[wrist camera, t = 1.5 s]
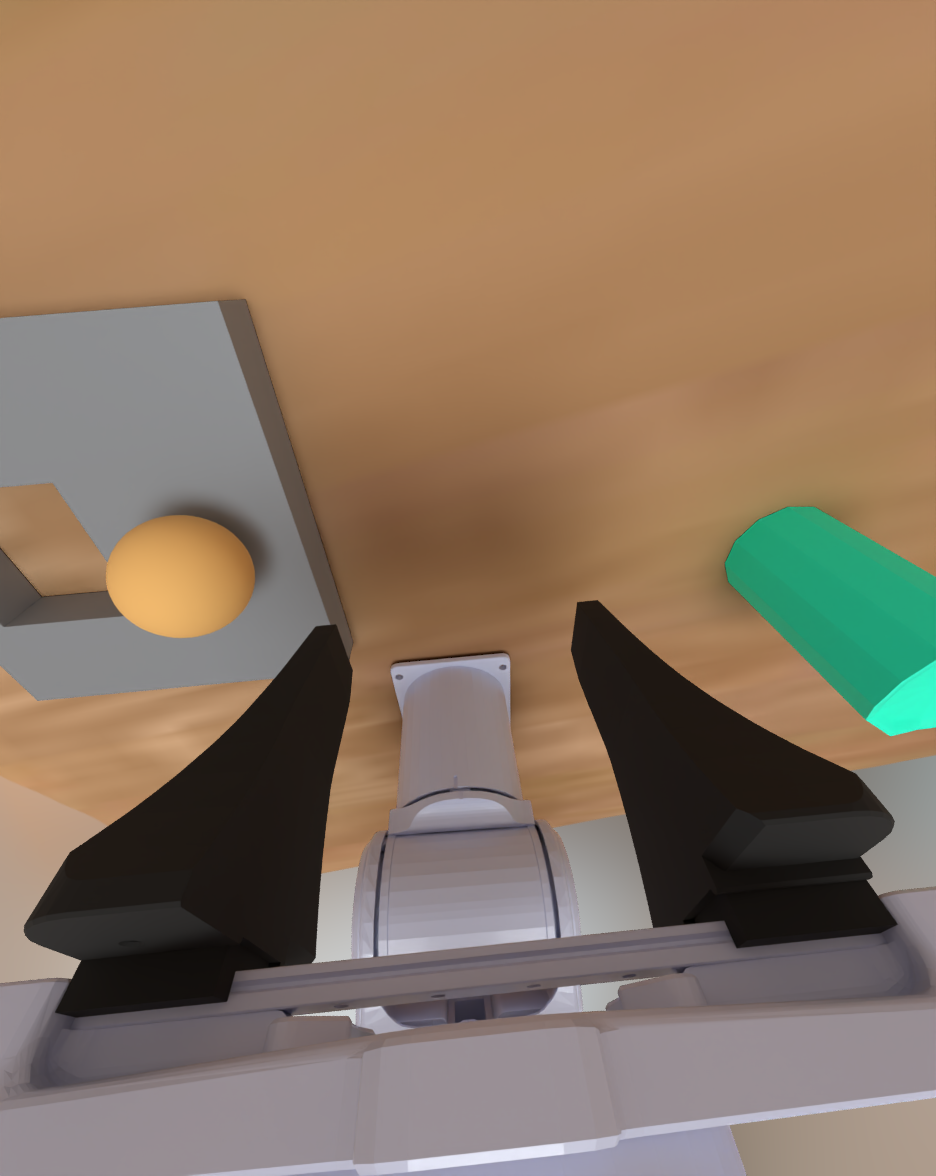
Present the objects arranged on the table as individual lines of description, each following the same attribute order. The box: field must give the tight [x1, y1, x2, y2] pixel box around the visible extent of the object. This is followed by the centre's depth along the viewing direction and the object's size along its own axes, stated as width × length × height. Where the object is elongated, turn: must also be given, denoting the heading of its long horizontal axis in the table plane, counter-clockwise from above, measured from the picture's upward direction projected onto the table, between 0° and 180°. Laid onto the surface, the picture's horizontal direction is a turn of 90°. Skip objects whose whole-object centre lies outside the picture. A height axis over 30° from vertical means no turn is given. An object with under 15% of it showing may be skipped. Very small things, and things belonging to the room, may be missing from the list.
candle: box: [725, 507, 936, 736], centre depth 20 cm, size 6×6×12 cm
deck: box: [0, 299, 353, 701], centre depth 20 cm, size 18×18×2 cm
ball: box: [106, 515, 255, 638], centre depth 17 cm, size 5×5×5 cm
